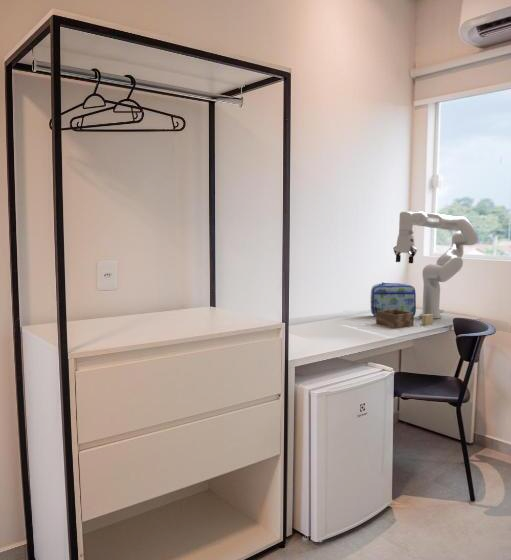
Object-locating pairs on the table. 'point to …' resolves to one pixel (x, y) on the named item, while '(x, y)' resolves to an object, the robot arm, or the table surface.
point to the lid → (427, 319)
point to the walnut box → (395, 318)
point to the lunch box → (393, 297)
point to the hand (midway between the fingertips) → (404, 262)
